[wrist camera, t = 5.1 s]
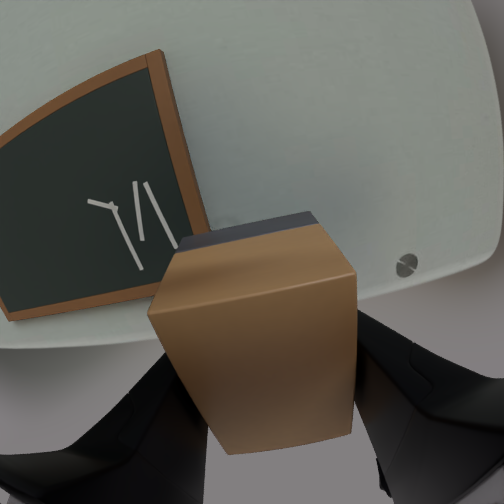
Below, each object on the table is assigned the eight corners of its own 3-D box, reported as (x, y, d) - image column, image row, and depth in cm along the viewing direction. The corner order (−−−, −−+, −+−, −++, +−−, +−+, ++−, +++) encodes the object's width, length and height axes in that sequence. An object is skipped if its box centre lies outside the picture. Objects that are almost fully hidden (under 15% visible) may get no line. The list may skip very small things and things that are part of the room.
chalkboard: (224, 274, 21) (223, 281, 20) (13, 316, 22) (8, 322, 21) (163, 52, 15) (159, 48, 14) (-42, 177, 16) (-49, 179, 15)
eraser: (325, 353, 11) (351, 434, 7) (229, 371, 11) (226, 455, 8) (310, 209, 9) (357, 272, 5) (181, 237, 9) (145, 313, 5)
